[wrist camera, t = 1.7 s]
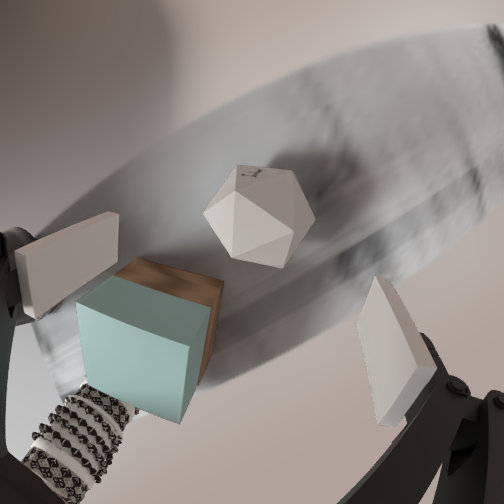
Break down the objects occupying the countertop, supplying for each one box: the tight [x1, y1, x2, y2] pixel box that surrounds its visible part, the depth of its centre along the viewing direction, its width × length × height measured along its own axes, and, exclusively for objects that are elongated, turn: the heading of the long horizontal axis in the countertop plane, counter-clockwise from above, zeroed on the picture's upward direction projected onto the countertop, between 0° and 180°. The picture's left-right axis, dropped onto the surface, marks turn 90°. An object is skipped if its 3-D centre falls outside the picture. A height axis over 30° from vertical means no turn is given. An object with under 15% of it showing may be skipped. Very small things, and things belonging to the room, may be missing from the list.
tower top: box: [76, 275, 211, 424], centre depth 26 cm, size 10×10×6 cm
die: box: [203, 165, 316, 268], centre depth 25 cm, size 8×9×10 cm
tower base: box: [114, 258, 224, 385], centre depth 32 cm, size 10×10×6 cm
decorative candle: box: [21, 375, 140, 504], centre depth 27 cm, size 9×9×25 cm
